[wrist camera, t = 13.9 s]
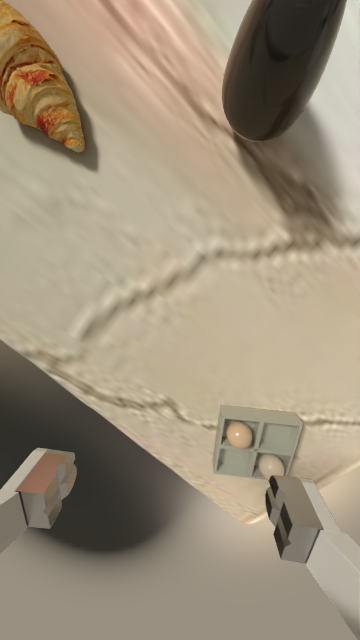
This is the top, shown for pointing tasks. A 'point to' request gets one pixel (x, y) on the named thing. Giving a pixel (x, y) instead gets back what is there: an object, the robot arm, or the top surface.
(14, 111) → the croissant
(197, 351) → the top surface
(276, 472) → the pale egg
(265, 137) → the pump dispenser
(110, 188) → the top surface
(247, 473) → the carton
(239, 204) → the top surface
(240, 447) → the brown egg
